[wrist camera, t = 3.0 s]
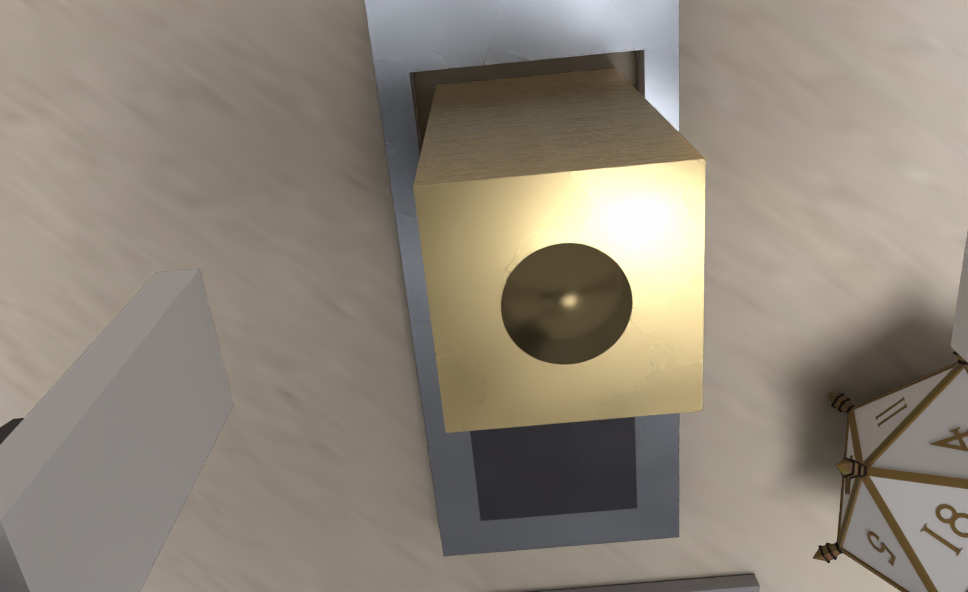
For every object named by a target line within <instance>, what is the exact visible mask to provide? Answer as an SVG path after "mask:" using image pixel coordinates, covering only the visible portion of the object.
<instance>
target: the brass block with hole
mask: <svg viewBox="0 0 968 592" xmlns="http://www.w3.org/2000/svg"><path fill="white" fill-rule="evenodd" d="M413 188H414V196H415V203H416V211H417V219H418V226H419V234H420V242H421V249H422V257H423V264H424V272H425V280H426V287H427V295H428V302H429V310H430V318H431V325H432V333H433V341H434V348H435V356H436V363H437V371H438V379H439V386H440V394H441V402H442V409H443V417H444V424H445V432H446V433H451V432H463V431H475V430H486V429H498V428H509V427H521V426H533V425H544V424H556V423H567V422H579V421H591V420H602V419H614V418H625V417H637V416H648V415H660V414H672V413H683V412H695V411H702V398H703V316H704V234H705V158H704V157H703V156H702V155H701V154H700V153H699V152H698V151H697V150H696V149H695V148H694V147H693V146H692V145H691V144H690V143H689V142H688V141H687V140H686V139H685V138H684V137H683V136H682V135H681V134H680V133H679V132H678V131H677V130H676V129H675V128H674V127H673V126H672V125H671V124H670V123H669V122H668V121H667V120H666V119H665V118H664V117H663V116H662V115H661V114H660V113H659V112H658V111H657V110H656V109H655V108H654V107H653V106H652V105H651V104H650V103H649V102H648V101H647V100H646V99H645V98H644V97H643V95H642V94H641V93H640V92H639V91H638V90H637V89H636V88H635V87H634V86H633V85H632V84H631V83H630V82H629V81H628V80H627V79H626V78H625V77H624V76H623V75H622V74H621V73H620V72H619V71H618V70H617V69H616V68H608V69H597V70H587V71H577V72H566V73H556V74H546V75H535V76H525V77H515V78H505V79H494V80H484V81H474V82H463V83H453V84H443V85H436V89H435V93H434V97H433V102H432V106H431V110H430V115H429V119H428V124H427V128H426V132H425V137H424V141H423V146H422V150H421V154H420V159H419V163H418V168H417V172H416V176H415V181H414V185H413Z"/></svg>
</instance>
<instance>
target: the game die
mask: <svg viewBox="0 0 968 592" xmlns="http://www.w3.org/2000/svg"><path fill="white" fill-rule="evenodd" d="M953 354H955V355H956V356H957V358H958V362H957V363H954V364H952V365H950V366H947V367H945V368H943V369H940V370H938V371H936V372H933V373H931V374H929V375H926V376H924V377H922V378H919V379H917V380H915V381H913V382H910V383H908V384H906V385H903V386H901V387H899V388H896V389H894V390H892V391H889V392H887V393H885V394H882V395H880V396H878V397H876V398H873V399H871V400H869V401H866V402H864V403H862V404H859V405H857V406H854V405H852V403H851V402H850V398H846V397H845V396H844V394H843V393H842V394H828V396H829V399H830V401H831V403H832V405H831V406H832V407H834V408H838V409H837V410H839V411H840V412H842V411H843V412H846V413H847V414H848V417H847V429H846V441H845V453H844V459H843V461H841V462H840V463H838V464H837V465H836V466H837V468H838V469H839V470H840V472H841V474H842V488H841V500H840V512H839V524H838V535H837V542H836V543H835V544H830V543H826V545H825V546H821V545H820V546H819V549H818V551H817V552H816V554H815V555H814V557H813V558H814V559H818V560H823V561H827V562H828V563H830V560H832V559H835V560H836V559H837V556H838V555H839V554H841V553H844V554H845V555H847V556H848V557H850V558H851V559H853V560H854V561H856V562H857V563H859V564H860V565H862V566H863V567H865V568H866V569H868V570H869V571H871V572H872V573H874V574H876V575H877V576H879V577H880V578H882V579H883V580H885V581H886V582H888V583H889V584H891V585H892V586H894V587H895V588H897V589H898V590H900V591H901V592H968V362H967V361H965V360H964V359H963V358H962V357H961V356H960V355H959V354H958V353H957V352H956V351H954V352H953Z"/></svg>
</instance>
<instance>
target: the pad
mask: <svg viewBox="0 0 968 592" xmlns="http://www.w3.org/2000/svg"><path fill="white" fill-rule="evenodd" d="M759 587H760V586H759V584H758V581H757V579H756V577H755V574H751V575H739V576H726V577H714V578H701V579H689V580H676V581H664V582H651V583H639V584H626V585H614V586H601V587H589V588H576V589H564V590H551V591H539V592H759Z"/></svg>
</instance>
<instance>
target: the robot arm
mask: <svg viewBox="0 0 968 592" xmlns="http://www.w3.org/2000/svg"><path fill="white" fill-rule="evenodd" d="M950 347H951V348H953V349H954V350H955V351H956V352H957V353H958V354H959V355H960V356H961V357H962V358H963V359H964V360H965V361H967V362H968V233H967V239H966V246H965V253H964V259H963V266H962V272H961V279H960V285H959V292H958V298H957V305H956V312H955V318H954V325H953V331H952V338H951V344H950ZM233 406H234V403H233V399H232V395H231V391H230V387H229V383H228V379H227V375H226V371H225V367H224V363H223V359H222V355H221V351H220V347H219V343H218V339H217V335H216V331H215V327H214V323H213V319H212V315H211V311H210V307H209V303H208V299H207V295H206V291H205V287H204V284H203V280H202V276H201V272H200V268H199V269H188V270H177V271H165V272H156V273H155V274H154V275H153V276H152V278H151V279H150V280H149V281H148V282H147V283H146V284H145V285H144V286H143V287H142V289H141V290H140V291H139V292H138V293H137V294H136V295H135V296H134V297H133V299H132V300H131V301H130V302H129V303H128V304H127V305H126V306H125V307H124V309H123V310H122V311H121V312H120V313H119V314H118V315H117V316H116V317H115V318H114V320H113V321H112V322H111V323H110V324H109V325H108V326H107V327H106V328H105V330H104V331H103V332H102V333H101V334H100V335H99V336H98V337H97V338H96V339H95V341H94V342H93V343H92V344H91V345H90V346H89V347H88V348H87V349H86V351H85V352H84V353H83V354H82V355H81V356H80V357H79V358H78V359H77V361H76V362H75V363H74V364H73V365H72V366H71V367H70V368H69V369H68V370H67V372H66V373H65V374H64V375H63V376H62V377H61V378H60V379H59V380H58V382H57V383H56V384H55V385H54V386H53V387H52V388H51V389H50V390H49V391H48V393H47V394H46V395H45V396H44V397H43V398H42V399H41V400H40V401H39V403H38V404H37V405H36V406H35V407H34V408H33V409H32V410H31V411H30V413H29V414H28V415H27V416H26V417H25V418H19V419H13V420H11V421H10V422H8V423H6V424H5V425H3V426H2V427H0V592H140V590H141V588H142V586H143V584H144V582H145V580H146V578H147V576H148V574H149V572H150V570H151V568H152V566H153V564H154V562H155V560H156V558H157V556H158V554H159V552H160V550H161V548H162V546H163V544H164V542H165V540H166V538H167V536H168V534H169V532H170V531H171V529H172V527H173V525H174V523H175V521H176V519H177V517H178V515H179V513H180V511H181V509H182V507H183V505H184V503H185V501H186V499H187V497H188V495H189V493H190V491H191V489H192V487H193V485H194V483H195V481H196V479H197V477H198V475H199V473H200V471H201V469H202V467H203V465H204V463H205V461H206V459H207V457H208V455H209V453H210V451H211V449H212V447H213V445H214V443H215V441H216V439H217V437H218V435H219V433H220V431H221V429H222V427H223V425H224V423H225V421H226V419H227V417H228V415H229V413H230V412H231V410H232V408H233Z"/></svg>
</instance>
